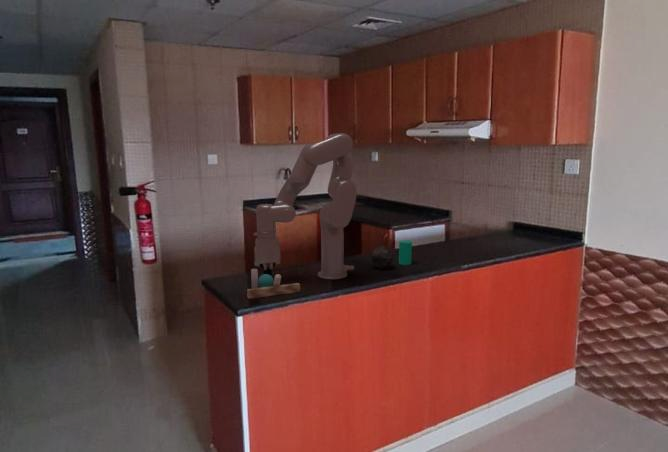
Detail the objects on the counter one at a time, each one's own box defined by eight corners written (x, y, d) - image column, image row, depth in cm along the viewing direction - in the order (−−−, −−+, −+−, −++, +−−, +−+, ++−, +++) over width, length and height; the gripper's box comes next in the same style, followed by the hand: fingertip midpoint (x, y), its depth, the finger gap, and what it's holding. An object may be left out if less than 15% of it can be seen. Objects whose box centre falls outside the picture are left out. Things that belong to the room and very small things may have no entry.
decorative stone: (368, 265, 216) (368, 244, 214) (388, 264, 219) (388, 243, 217) (375, 271, 207) (375, 249, 205) (396, 269, 209) (396, 248, 207)
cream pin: (277, 284, 181) (280, 273, 174) (279, 289, 180) (282, 279, 173) (271, 285, 180) (274, 275, 173) (273, 291, 179) (275, 280, 172)
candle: (410, 261, 224) (410, 237, 222) (412, 264, 218) (413, 239, 216) (397, 261, 224) (398, 237, 222) (399, 264, 218) (400, 239, 216)
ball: (272, 281, 177) (277, 287, 182) (267, 269, 180) (273, 275, 185) (257, 288, 177) (263, 294, 182) (253, 275, 180) (259, 281, 185)
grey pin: (257, 290, 179) (256, 268, 178) (258, 292, 177) (258, 269, 176) (251, 291, 178) (250, 269, 177) (252, 293, 176) (251, 270, 175)
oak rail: (298, 290, 180) (298, 282, 179) (300, 291, 178) (300, 284, 178) (247, 297, 172) (247, 289, 172) (248, 298, 170) (248, 290, 170)
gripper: (250, 238, 181) (251, 283, 184) (287, 235, 187) (287, 279, 190) (246, 234, 188) (247, 278, 191) (281, 231, 194) (282, 274, 197)
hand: (267, 278), depth 191 cm, fingers closed
